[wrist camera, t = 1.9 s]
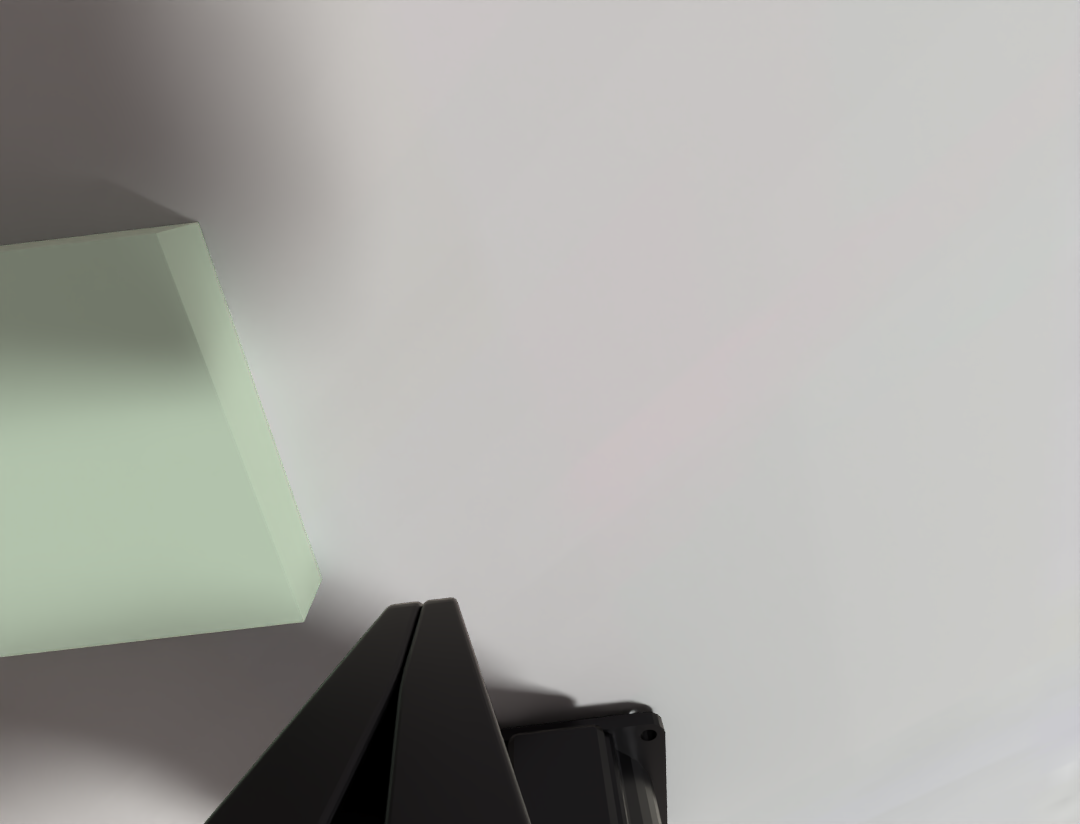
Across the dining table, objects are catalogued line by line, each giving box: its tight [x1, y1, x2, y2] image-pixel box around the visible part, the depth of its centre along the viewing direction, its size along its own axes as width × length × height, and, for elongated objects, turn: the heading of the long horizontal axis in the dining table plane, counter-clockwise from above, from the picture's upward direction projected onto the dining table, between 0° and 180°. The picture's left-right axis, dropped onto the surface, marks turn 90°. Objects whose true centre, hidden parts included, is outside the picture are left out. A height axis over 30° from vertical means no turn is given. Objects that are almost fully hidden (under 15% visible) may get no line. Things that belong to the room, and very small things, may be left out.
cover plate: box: [0, 222, 322, 657], centre depth 13 cm, size 9×11×2 cm
